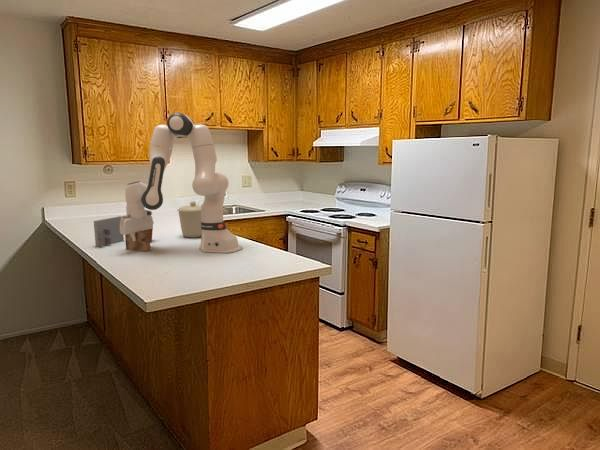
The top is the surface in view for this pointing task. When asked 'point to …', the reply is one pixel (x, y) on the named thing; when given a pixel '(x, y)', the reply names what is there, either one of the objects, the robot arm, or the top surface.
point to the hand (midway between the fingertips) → (137, 240)
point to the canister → (190, 220)
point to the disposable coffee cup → (150, 233)
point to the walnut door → (138, 241)
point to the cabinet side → (107, 231)
